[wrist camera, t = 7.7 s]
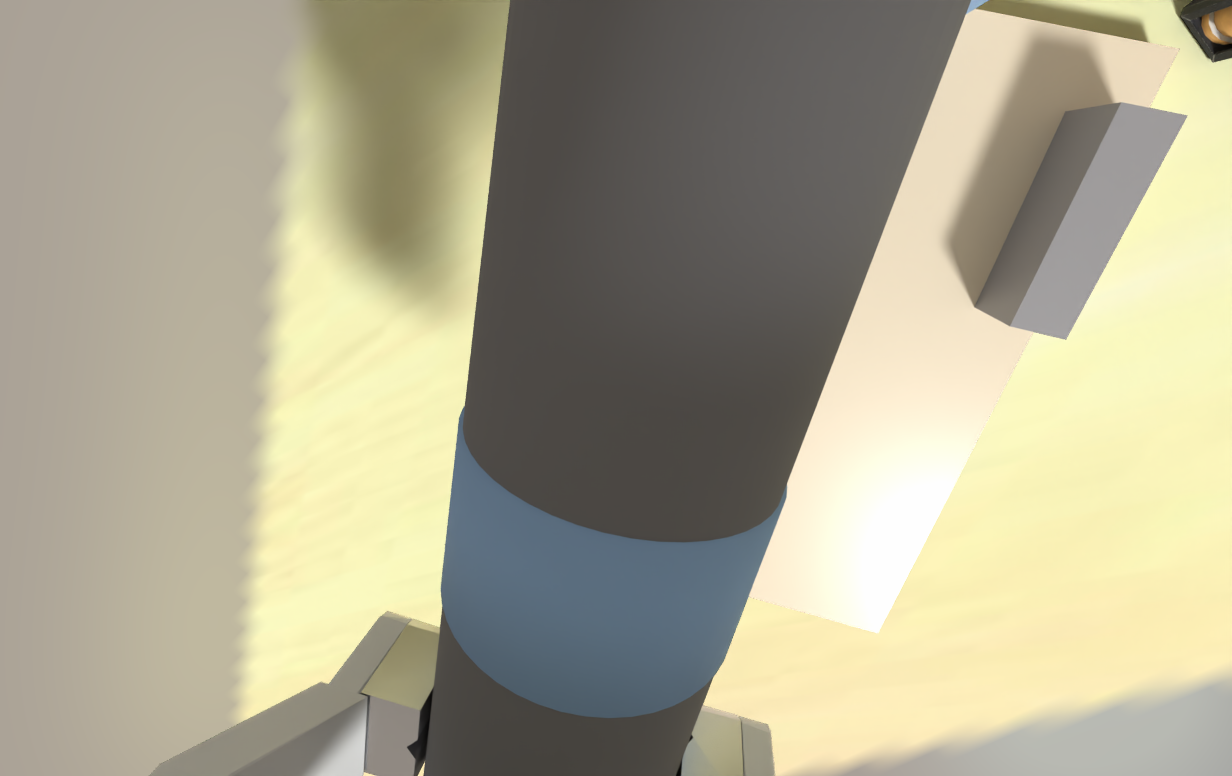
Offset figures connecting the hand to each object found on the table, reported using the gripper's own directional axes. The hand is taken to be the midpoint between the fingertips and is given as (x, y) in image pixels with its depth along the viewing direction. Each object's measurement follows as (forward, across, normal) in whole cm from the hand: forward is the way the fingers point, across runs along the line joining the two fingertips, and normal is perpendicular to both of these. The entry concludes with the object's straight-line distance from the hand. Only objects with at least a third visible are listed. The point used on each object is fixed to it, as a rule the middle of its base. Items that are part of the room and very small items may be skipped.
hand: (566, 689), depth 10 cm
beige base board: (+14, -4, -4) cm, 15 cm away
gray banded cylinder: (+1, 0, -2) cm, 2 cm away
